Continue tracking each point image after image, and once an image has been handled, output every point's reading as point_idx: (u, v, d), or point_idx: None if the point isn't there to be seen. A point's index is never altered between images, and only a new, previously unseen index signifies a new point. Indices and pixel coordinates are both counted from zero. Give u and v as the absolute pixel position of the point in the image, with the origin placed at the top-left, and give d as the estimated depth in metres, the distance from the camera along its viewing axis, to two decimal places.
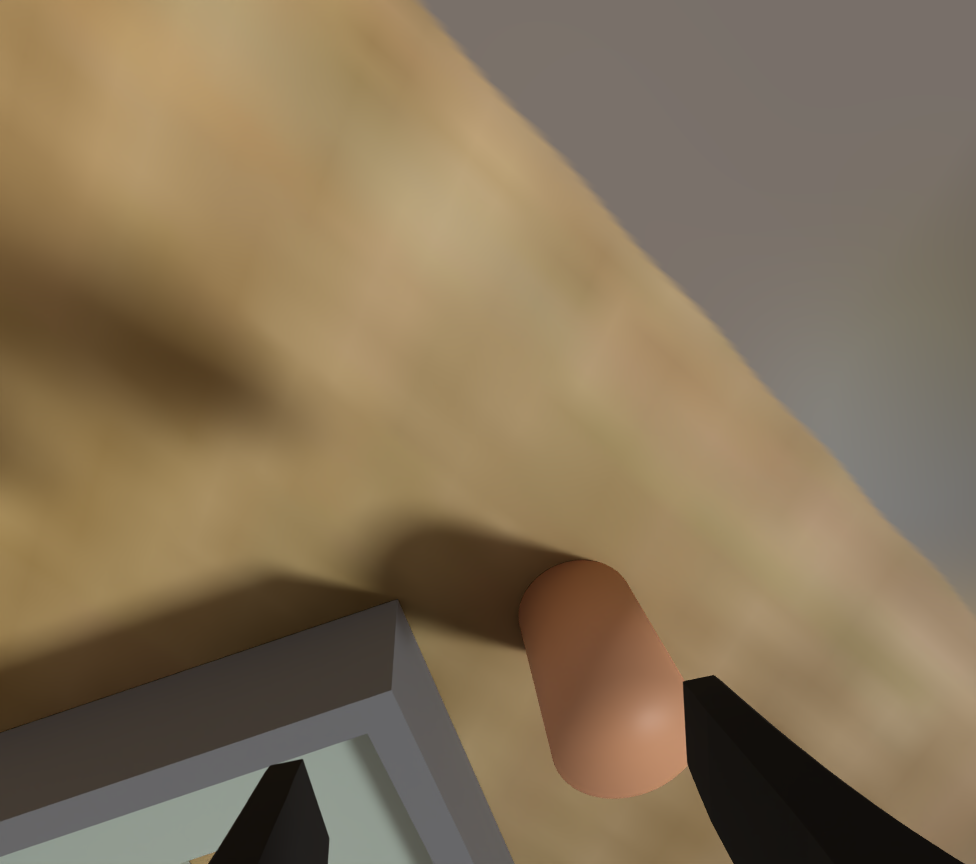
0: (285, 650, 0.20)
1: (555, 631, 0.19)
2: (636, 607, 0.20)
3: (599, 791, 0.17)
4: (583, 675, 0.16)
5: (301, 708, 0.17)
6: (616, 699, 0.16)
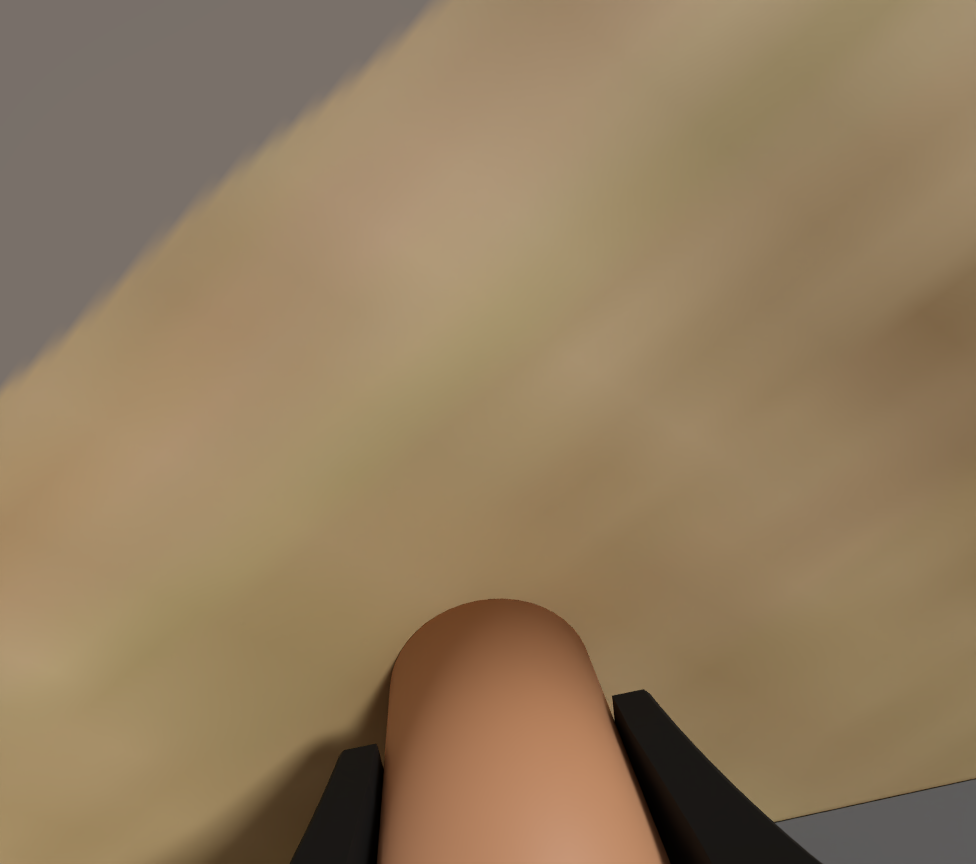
0: None
1: None
2: (422, 711, 0.10)
3: None
4: None
5: None
6: None
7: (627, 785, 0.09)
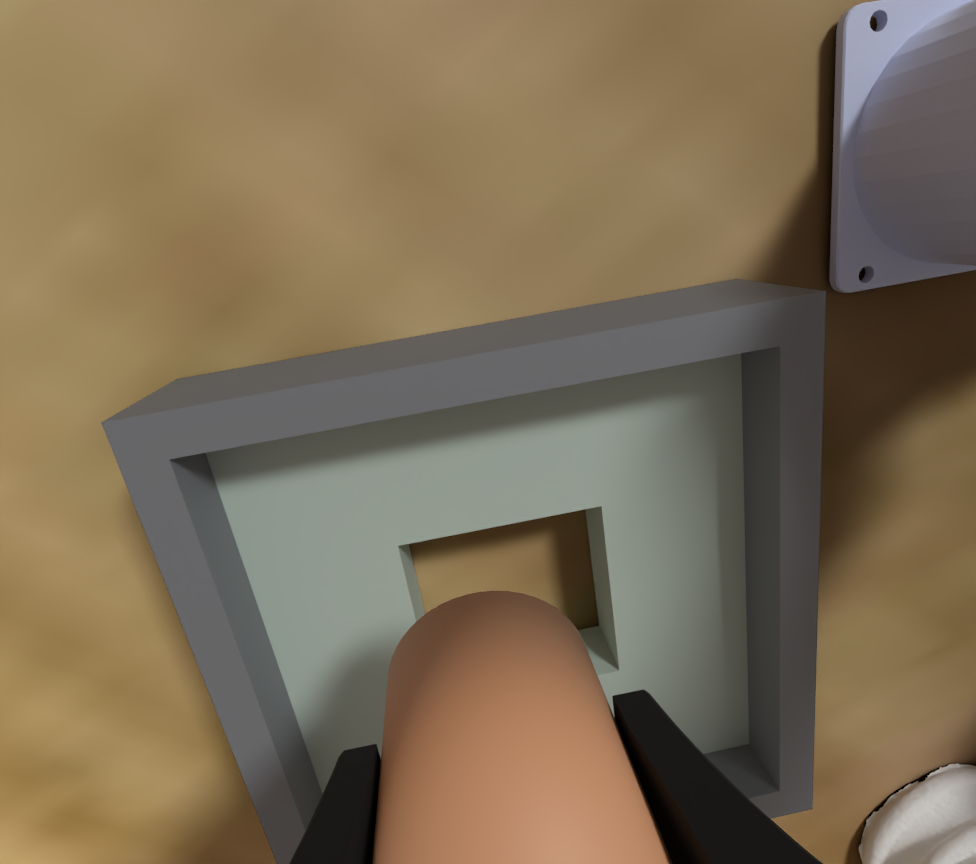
0: None
1: None
2: (412, 706, 0.10)
3: None
4: None
5: None
6: None
7: (617, 768, 0.09)
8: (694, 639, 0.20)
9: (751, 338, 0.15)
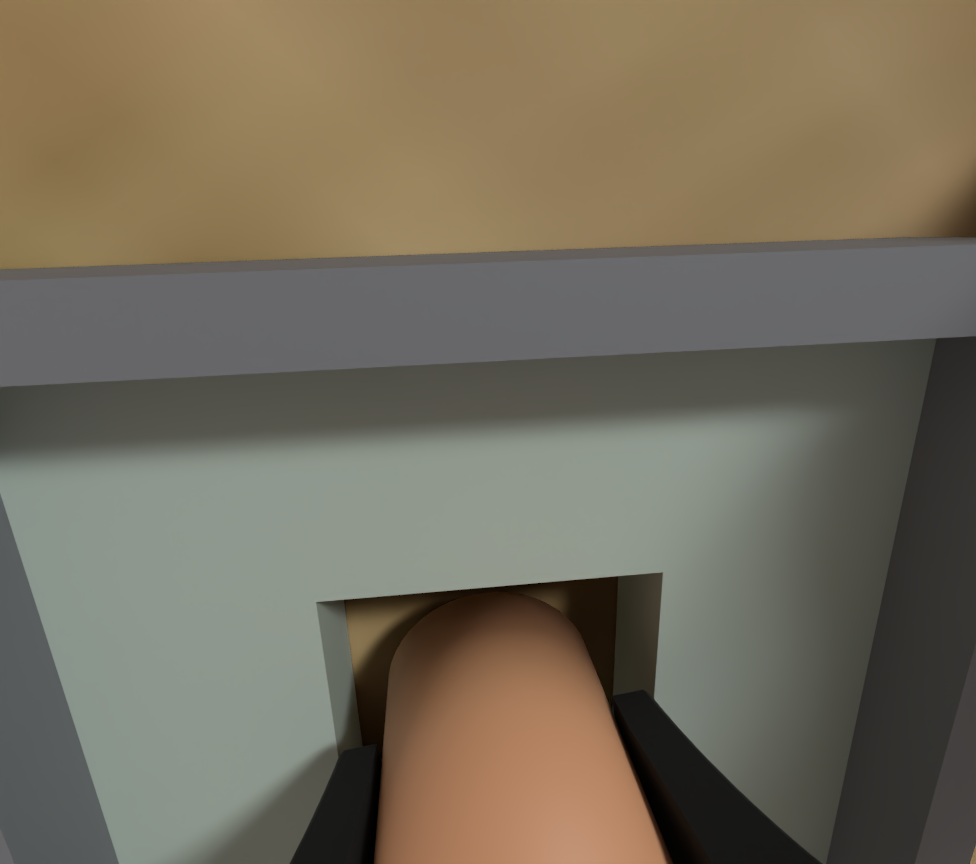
0: None
1: None
2: (413, 708, 0.10)
3: None
4: None
5: None
6: None
7: (618, 769, 0.09)
8: (764, 787, 0.13)
9: None
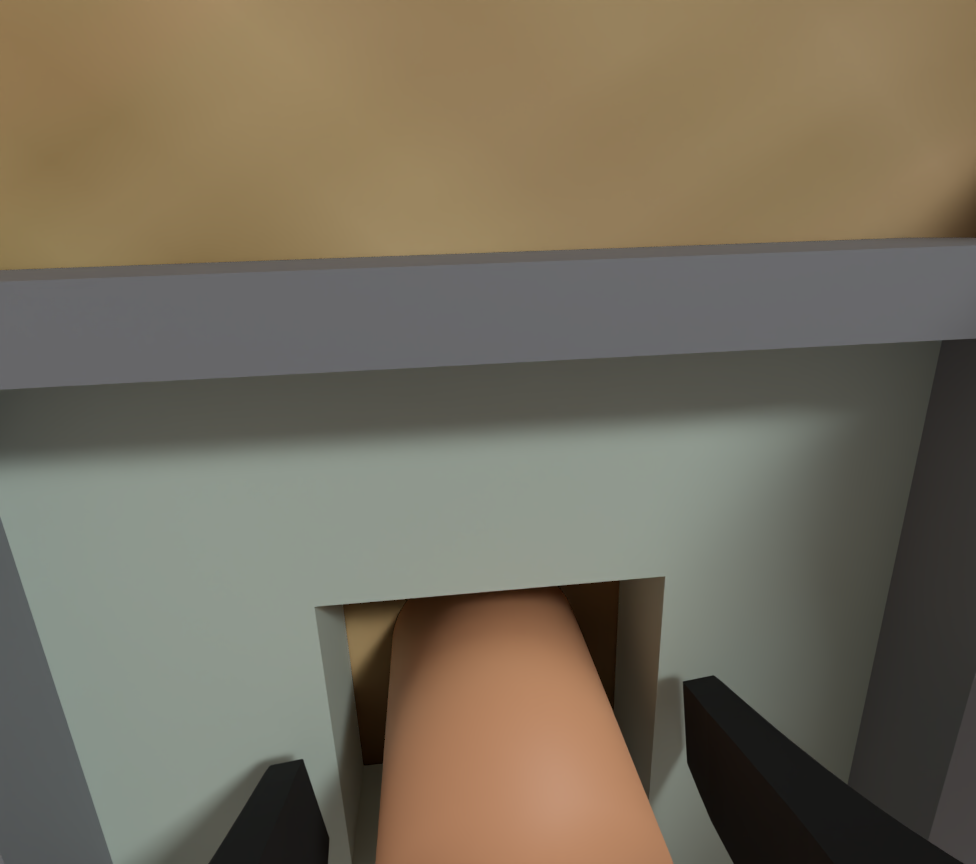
0: None
1: None
2: (416, 658, 0.11)
3: None
4: None
5: None
6: None
7: (596, 706, 0.10)
8: None
9: None
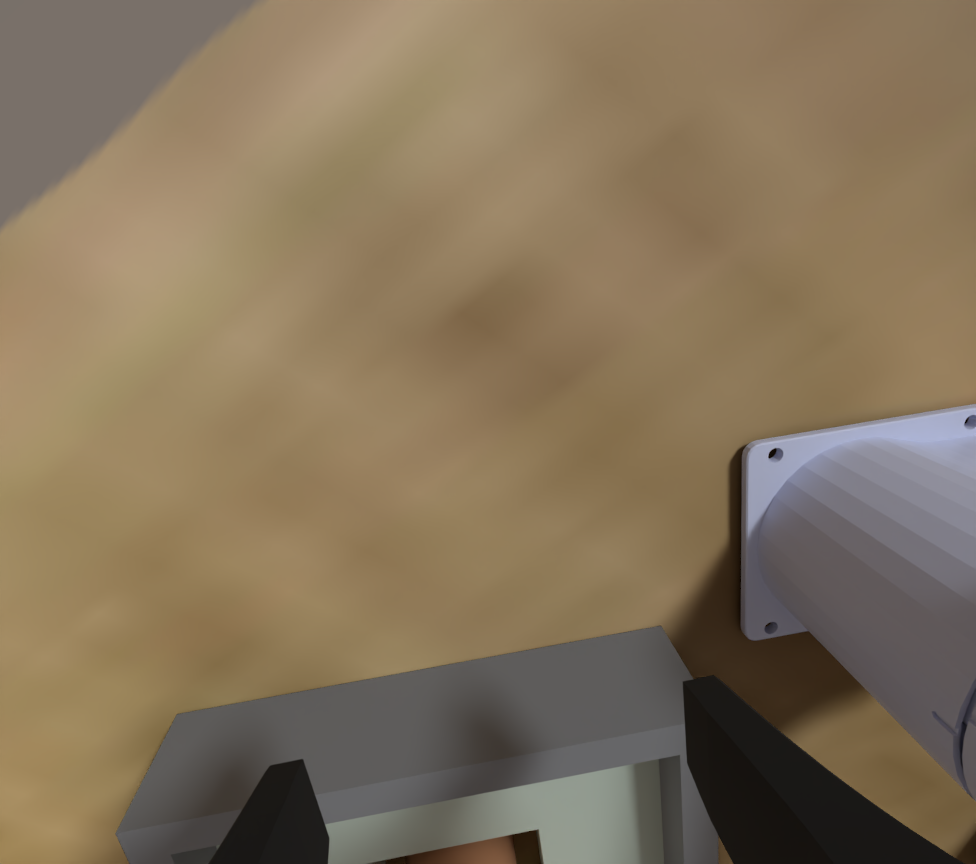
0: None
1: None
2: None
3: None
4: None
5: None
6: None
7: None
8: None
9: (655, 751, 0.18)
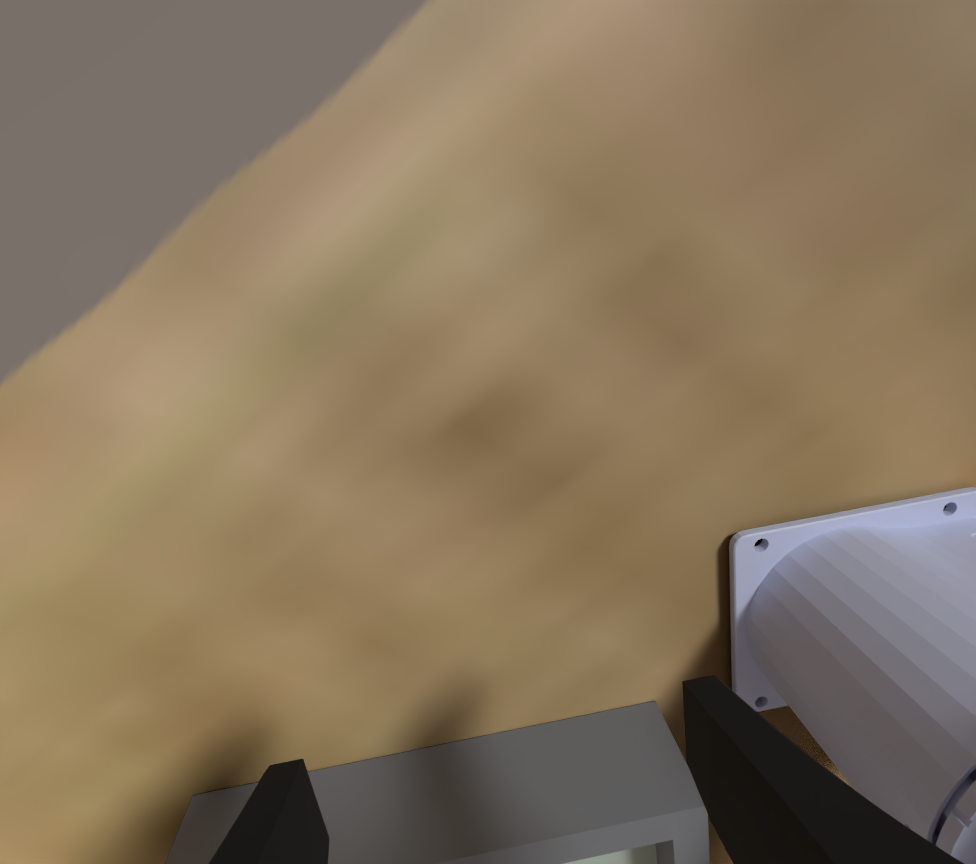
0: None
1: None
2: None
3: None
4: None
5: None
6: None
7: None
8: None
9: (649, 837, 0.19)
